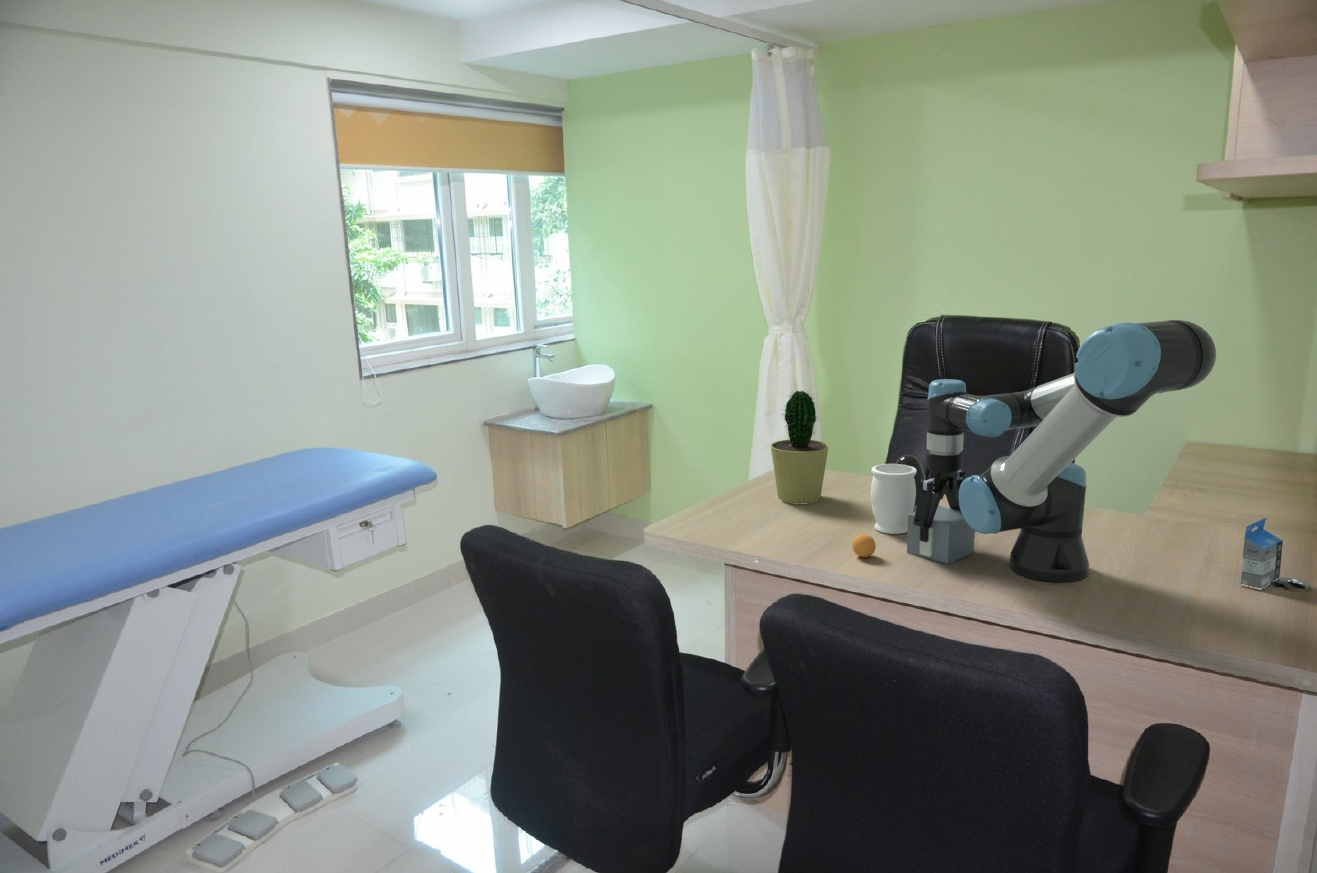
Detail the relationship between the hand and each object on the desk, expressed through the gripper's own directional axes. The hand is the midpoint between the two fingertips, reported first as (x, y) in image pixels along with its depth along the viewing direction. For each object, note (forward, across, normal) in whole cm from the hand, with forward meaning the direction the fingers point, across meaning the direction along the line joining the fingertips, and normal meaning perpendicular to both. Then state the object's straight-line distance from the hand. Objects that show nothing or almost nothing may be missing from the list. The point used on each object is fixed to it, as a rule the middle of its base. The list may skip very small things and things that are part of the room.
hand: (940, 549), depth 196 cm
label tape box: (+1, -29, +52) cm, 60 cm away
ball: (-2, +14, -10) cm, 17 cm away
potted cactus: (+1, -10, -50) cm, 51 cm away
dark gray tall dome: (+1, -19, -22) cm, 29 cm away
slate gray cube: (+1, 0, 0) cm, 1 cm away
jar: (+1, -6, -17) cm, 18 cm away
